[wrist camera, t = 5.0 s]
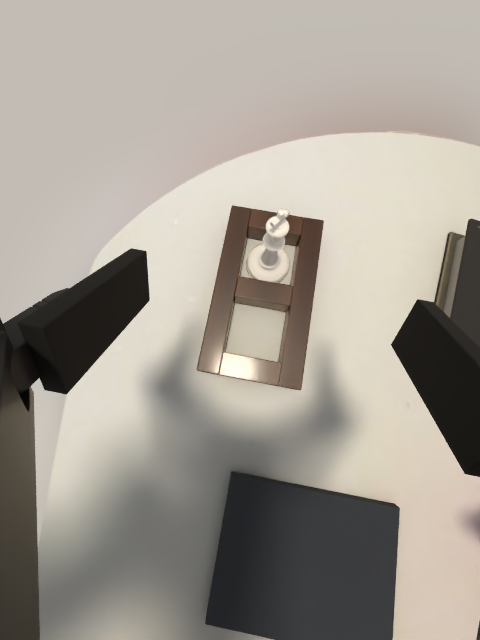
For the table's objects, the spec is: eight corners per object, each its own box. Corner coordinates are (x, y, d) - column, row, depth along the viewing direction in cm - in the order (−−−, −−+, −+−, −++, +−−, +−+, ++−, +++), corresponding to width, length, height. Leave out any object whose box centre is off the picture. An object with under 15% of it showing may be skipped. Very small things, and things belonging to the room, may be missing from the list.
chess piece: (237, 263, 30) (236, 211, 20) (267, 237, 31) (281, 173, 21) (267, 293, 29) (281, 253, 20) (298, 265, 30) (326, 213, 20)
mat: (206, 615, 23) (205, 624, 23) (231, 471, 26) (231, 474, 25) (386, 655, 23) (391, 665, 22) (394, 503, 25) (399, 508, 24)
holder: (200, 370, 28) (196, 370, 25) (232, 218, 31) (231, 205, 29) (295, 388, 27) (301, 390, 25) (317, 232, 31) (323, 220, 29)
